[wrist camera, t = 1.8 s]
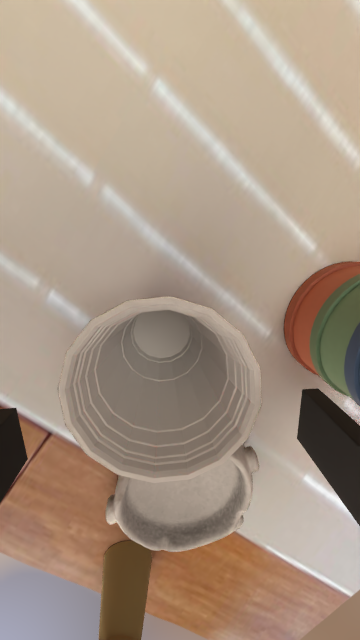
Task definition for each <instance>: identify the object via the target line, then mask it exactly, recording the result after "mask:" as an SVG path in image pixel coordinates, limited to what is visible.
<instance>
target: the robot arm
mask: <svg viewBox="0 0 360 640" xmlns="http://www.w3.org/2000/svg"><path fill="white" fill-rule="evenodd" d="M297 439H298V440H299V442H300V443H301V444H302V446H303V447H304V449H305V450H306V451H307V453H308V454H309V456H310V457H311V458H312V460H313V461H314V463H315V464H316V465H317V467H318V468H319V470H320V471H321V472H322V474H323V475H324V477H325V478H326V479H327V481H328V482H329V484H330V485H331V486H332V488H333V489H334V491H335V492H336V493H337V495H338V496H339V498H340V499H341V500H342V502H343V503H344V505H345V506H346V507H347V509H348V510H349V512H350V513H351V514H352V516H353V517H354V519H355V520H356V521H357V523H358V524H359V526H360V426H359V425H358V424H357V423H356V422H355V421H354V420H353V419H352V418H350V417H349V416H348V415H347V414H346V413H345V412H344V411H343V410H342V409H340V408H339V407H338V406H337V405H336V404H335V403H334V402H333V401H332V400H330V399H329V398H328V397H327V396H326V395H325V394H324V393H323V392H321V391H320V390H319V389H303V390H302V399H301V408H300V417H299V426H298V435H297ZM27 459H28V458H27V454H26V449H25V445H24V441H23V436H22V432H21V428H20V423H19V419H18V414H17V410H16V408H10V409H0V502H1V501H2V499H3V497H4V496H5V494H6V493H7V491H8V489H9V488H10V486H11V485H12V483H13V481H14V480H15V478H16V477H17V475H18V473H19V472H20V470H21V469H22V467H23V466H24V464H25V462H26V461H27Z"/></svg>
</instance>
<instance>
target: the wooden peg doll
mask: <svg viewBox="0 0 360 640" xmlns="http://www.w3.org/2000/svg"><path fill="white" fill-rule="evenodd" d="M151 562H152V554H151V551H150V550H149V549H148V548H146V547H144V546H142V545H141V544H138V543H136V542H135V541H123V542H119V543H117V544H114V545H113V546H111V547H110V548H109V549H108V550H107V551H106V553H105V555H104V561H103V577H102V593H101V610H100V611H101V612H100V625H99V640H141V636H142V629H143V621H144V614H145V606H146V599H147V591H148V584H149V577H150V569H151Z"/></svg>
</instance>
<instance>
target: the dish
mask: <svg viewBox="0 0 360 640" xmlns="http://www.w3.org/2000/svg"><path fill="white" fill-rule="evenodd" d="M258 470H259V463H258V458H257V455H256V453H255V451H254V449H253V448H252V447H251V446H249V447H244V446H243V445H241V446H240V447H239V448H238V449H237V450H236V451H235V452H234V453H233V454H232V455H231V456H230V457H229V458H228V459H227V460H226V461H225V462H224V463H223V464H222V465H220V466H217V467H215V468H213V469H211V470H209V471H207V472H205V473H203V474H200V475H198V476H196V477H194V478H192V479H189V480H179V481H169V482H159V483H151V482H146V481H142V480H138V479H134V478H129V477H125V476H121V475H119V477H118V482H117V486H116V490H115V494H114V495H111V496H110V497H109V498H108V502H107V507H106V521H107V522H108V524H114V523H116V522H117V523H118V525H119V527H120V528H121V530H122V531H123V532H124V533H125V534H126V535H127V536H128V537H129V538H130V539H132V540H133V541H135V542H136V543H138V544H141V545H142V546H144V547H146V548H148V549H151V550H155V551H160V550H166V551H169V552H180V551H185V550H190V549H193V548H196V547H200V546H203V545H206V544H209V543H211V542H214V541H217V540H219V539H221V538H223V537H226V536H228V535H229V534H231V533H232V532H233V531H235V530H237V529H239V528H240V527H241V525H242V523H243V515H242V514H243V512H245V511H247V509H248V508H249V505H250V501H251V497H252V473H253V472H256V471H258Z"/></svg>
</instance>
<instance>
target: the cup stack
mask: <svg viewBox="0 0 360 640" xmlns="http://www.w3.org/2000/svg"><path fill="white" fill-rule="evenodd" d="M284 334H285V340H286V344H287V346H288V349H289V351H290V352H291V354H292V356H293V357H294V358H295V359H296V360H297V361H298V362H299V363H300V364H301V365H303V366H304V367H305V368H306V369H307V370H309V371H311V372H312V373H314V374H317V375H319V376H320V377H321V378H322V379H323V380H324V381H325V382H326V383H328V384H329V385H330V386H331V387H332V388H334V389H335V390H337V391H338V392H340V393H342V394H344V395H347V396H349V397H351V398H352V399H353V400H354V401H355V402H356V403H357V404H358V405H359V406H360V262H341V263H337V264H333V265H330V266H328V267H325V268H324V269H322V270H320V271H318V272H317V273H315V274H314V275H312V276H311V277H310V278H309V279H307V280H306V281H305V282H304V283H303V284H302V285H301V287H300V288H299V289H298V290H297V292H296V293H295V295H294V296H293V298H292V300H291V302H290V304H289V306H288V309H287V312H286V316H285V322H284Z"/></svg>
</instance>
